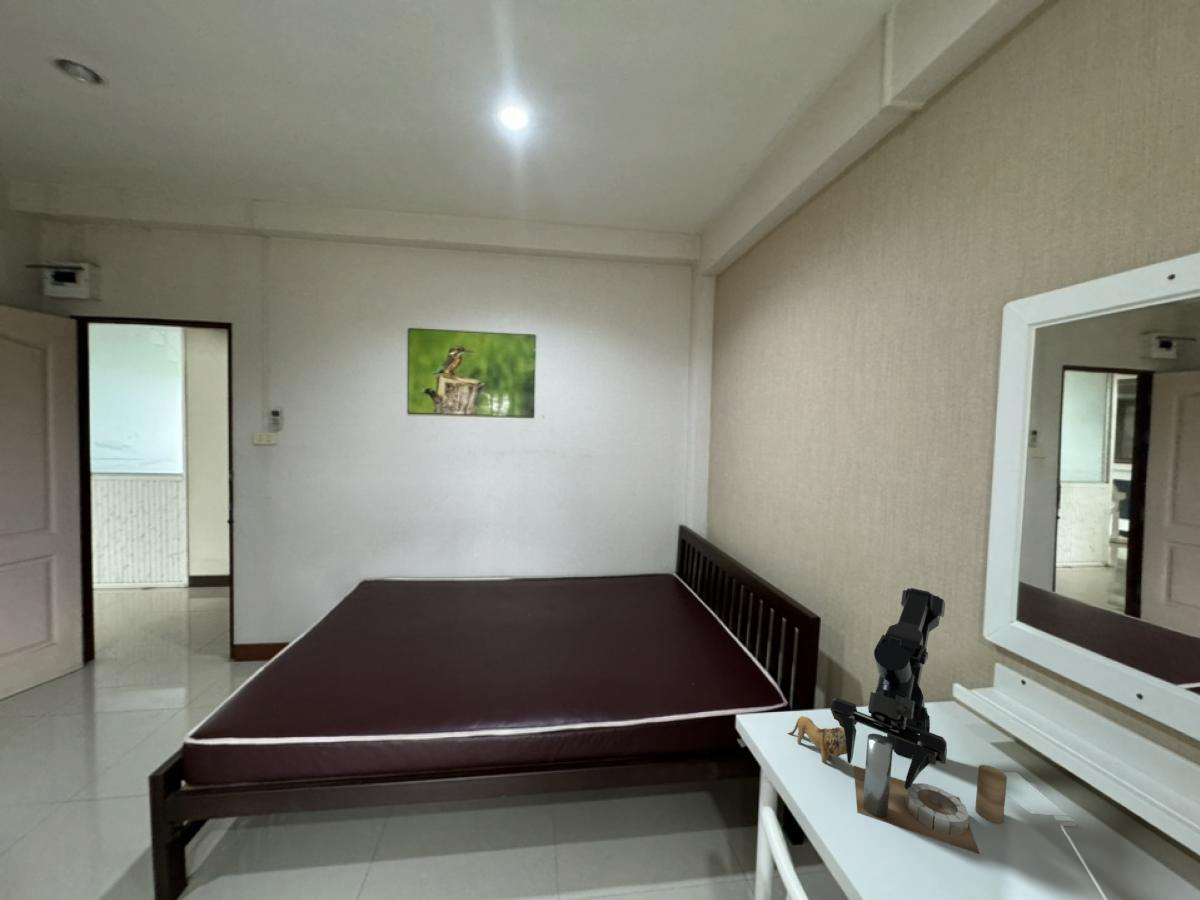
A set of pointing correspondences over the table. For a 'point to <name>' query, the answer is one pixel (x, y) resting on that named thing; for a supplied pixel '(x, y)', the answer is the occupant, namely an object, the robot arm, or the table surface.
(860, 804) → the walnut board
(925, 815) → the grey stone ring
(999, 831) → the table surface
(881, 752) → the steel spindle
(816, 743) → the lion figurine
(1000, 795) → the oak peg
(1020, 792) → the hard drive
